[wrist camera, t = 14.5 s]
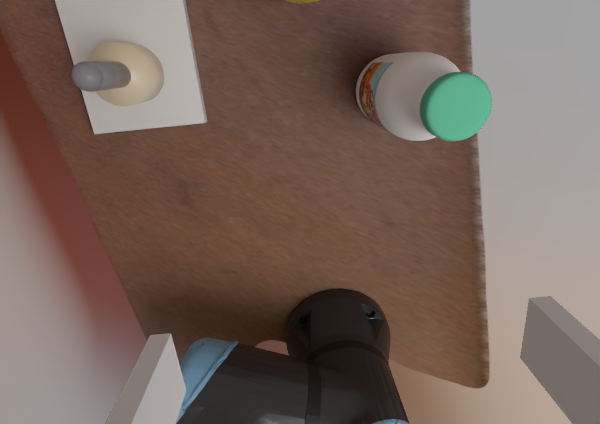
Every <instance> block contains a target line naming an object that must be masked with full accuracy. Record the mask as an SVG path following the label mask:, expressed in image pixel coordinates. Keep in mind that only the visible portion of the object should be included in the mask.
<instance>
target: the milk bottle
mask: <svg viewBox="0 0 600 424" xmlns="http://www.w3.org/2000/svg"><path fill="white" fill-rule="evenodd" d="M356 99H357V103H358V105H359V108H360V109H361V111H362V112H363V114H364V115H365V116H366V117H368V118H369V119H370V120H371V121H373V122H374V123H376V124H377V125H379V126H380V127H382V128H383V129H385V130H387V131H388V132H390V133H392V134H394V135H396V136H398V137H400V138H403V139H407V140H413V141H422V140H428V139H432V138H435V137H437V138H440V139H443V140H446V141H459V140H464V139H466V138H469V137H471V136H472V135H474V134H475V133H477V132H478V131H479V130H480V129H481V128H482V126H484V124H485V123H486V121H487V119H488V117H489V114H490V112H491V107H492V98H491V93H490V90H489V88H488V86H487V85H486V83H485V82H484V81H483V80H482V79H481V78H479V77H478V76H476V75H474V74H471V73H465V72H460V71H459V69H458V68H457V67H456V66H455V65H454V64H453V63H452V62H451V61H449V60H448V59H446V58H445V57H443V56H440V55H437V54H434V53H429V52H406V53H396V54H388V55H383V56H380V57H378V58H376V59H374V60H373V61H371V62H370V63H369V64H368V65H367V66H366V67H365V68H364V69H363V71H362V72H361V74H360V76H359V78H358V81H357V85H356Z"/></svg>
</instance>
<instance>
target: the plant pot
mask: <svg viewBox="0 0 600 424" xmlns="http://www.w3.org/2000/svg"><path fill="white" fill-rule="evenodd" d="M286 1H289V2H293V3H312V2H316V1H319V0H286Z"/></svg>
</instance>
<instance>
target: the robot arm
mask: <svg viewBox="0 0 600 424" xmlns="http://www.w3.org/2000/svg"><path fill="white" fill-rule="evenodd" d="M286 343H287V350H288V353H289V356H288V355H284V354H280V353H275V352H271V351H267V350H263V349H259V348H255V347H251V346H247V345H244V344H240V343H239V342H238V341H233V342H231V341H226V340H220V339H215V338H209V337H204V338H200V339H198V340H196V341H195V342H194V343H193V344H192V345H191V346H190V347H189V348H188V350H187V351H186V353H185V355H184V357H183V359H182V361H181V362H180V364H179V361H178V357H177V354H176V350H175V346H174V343H173V339H172V335H171V333H167V334H157V335H150V336H149V338H148V340H147V342H146V344H145V346H144V348H143V350H142V352H141V354H140V356H139V358H138V360H137V362H136V364H135V366H134V368H133V370H132V372H131V374H130V376H129V378H128V380H127V382H126V384H125V385H124V387H123V390H122V391H121V393H120V396H119V397H118V400H117V401H116V403H115V405H114V407H113V409H112V411H111V413H110V415H109V417H108V419H107V421H106V423H105V424H409V421H408V419H407V416H406V413H405V410H404V407H403V404H402V402H401V399H400V396H399V393H398V390H397V388H396V385H395V382H394V379H393V376H392V373H391V370H390V367H389V364H388V360H389V349H390V330H389V326H388V323H387V320H386V318H385V315H384V313H383V311H382V309H381V308H380V307H379V305H378V304H377V303H376V302H375V301H373V300H372V299H371V298H369V297H368V296H366V295H364V294H362V293H359V292H356V291H352V290H344V289H335V290H328V291H324V292H320V293H317V294H315V295H313V296H311V297H309V298H307V299H306V300H305V301H303V302H302V303H301V304H300V305H299V306H298V307H297V308H296V309H295V310H294V312H293V313H292V315H291V317H290V319H289V321H288V325H287V332H286ZM520 358H521V359H522V360H523V362H524V363H525V364H526V365H527V367H528V368H529V369H530V371H531V372H532V373H533V374H534V376H535V377H536V378H537V379H538V381H539V382H540V383H541V385H542V386H543V387H544V388H545V390H546V391H547V392H548V393H549V395H550V396H551V397H552V398H553V400H554V401H555V402H556V404H557V405H558V406H559V407H560V408H561V410H562V411H563V412H564V414H565V415H566V416H567V417H568V419H569V420H570V421H571V422H572V424H600V340H599V339H598V338H597V337H596V336H595V335H594V334H592V333H591V332H590V331H589V330H588V329H587V328H586V327H585V326H583V325H582V324H581V323H580V322H579V321H578V320H576V319H575V318H574V317H573V316H572V315H571V314H570V313H569V312H568V311H566V310H565V309H564V308H563V307H562V306H561V305H560V304H559V303H558V302H556V301H555V300H554V299H553V298H552V297H550V296H548V297H537V298H529V303H528V310H527V317H526V323H525V329H524V336H523V342H522V349H521V356H520Z"/></svg>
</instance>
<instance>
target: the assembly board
mask: <svg viewBox="0 0 600 424" xmlns="http://www.w3.org/2000/svg"><path fill="white" fill-rule="evenodd" d="M55 3H56V6H57V9H58V13H59V16H60V20H61V23H62V26H63V30H64V33H65V37H66V40H67V43H68V47H69V50H70V53H71V57H72V60H73V64H74V67H73V69H72V72H71V76H72V80H73V82H74V83H75V85H76V86H77V87H79V88H80V89H81V91H82V94H83V98H84V101H85V104H86V108H87V111H88V114H89V118H90V121H91V125H92V128H93V131H94V134H101V133H111V132H121V131H130V130H140V129H150V128H160V127H170V126H180V125H189V124H199V123H206V122H207V116H206V110H205V105H204V100H203V94H202V89H201V83H200V78H199V72H198V67H197V61H196V56H195V50H194V45H193V39H192V34H191V28H190V23H189V17H188V12H187V6H186V1H185V0H55Z"/></svg>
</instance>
